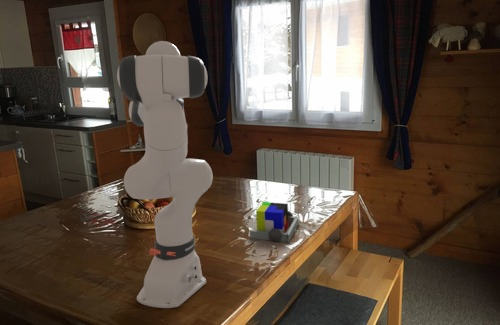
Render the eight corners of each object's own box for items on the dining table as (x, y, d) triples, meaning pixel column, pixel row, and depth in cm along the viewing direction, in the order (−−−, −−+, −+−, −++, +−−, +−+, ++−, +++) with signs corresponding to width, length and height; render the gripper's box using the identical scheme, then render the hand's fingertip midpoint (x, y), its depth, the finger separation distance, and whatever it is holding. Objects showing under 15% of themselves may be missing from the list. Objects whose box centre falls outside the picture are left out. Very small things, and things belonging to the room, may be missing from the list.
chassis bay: (288, 243, 157) (288, 230, 156) (249, 239, 161) (248, 227, 160) (299, 222, 175) (298, 211, 173) (263, 219, 179) (263, 208, 178)
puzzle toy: (282, 237, 162) (281, 213, 159) (257, 235, 165) (256, 211, 162) (288, 227, 171) (287, 203, 169) (264, 225, 174) (263, 202, 172)
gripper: (163, 134, 145) (166, 172, 149) (189, 123, 164) (192, 158, 168) (147, 133, 147) (151, 171, 151) (174, 123, 166) (177, 157, 170)
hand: (172, 164), depth 159 cm, fingers closed
